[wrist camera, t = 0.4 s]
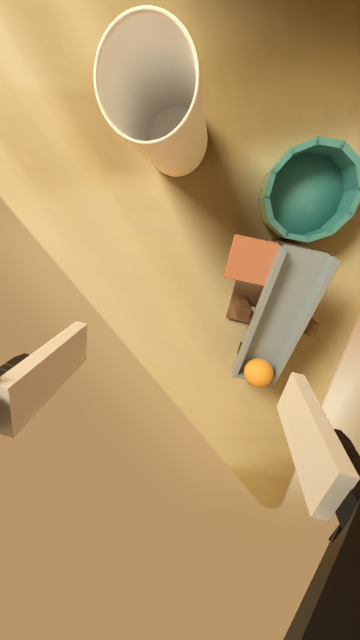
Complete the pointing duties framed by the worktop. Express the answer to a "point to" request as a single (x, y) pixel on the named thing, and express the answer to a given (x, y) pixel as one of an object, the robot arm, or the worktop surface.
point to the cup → (153, 88)
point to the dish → (311, 190)
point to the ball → (258, 372)
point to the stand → (255, 300)
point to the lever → (278, 296)
